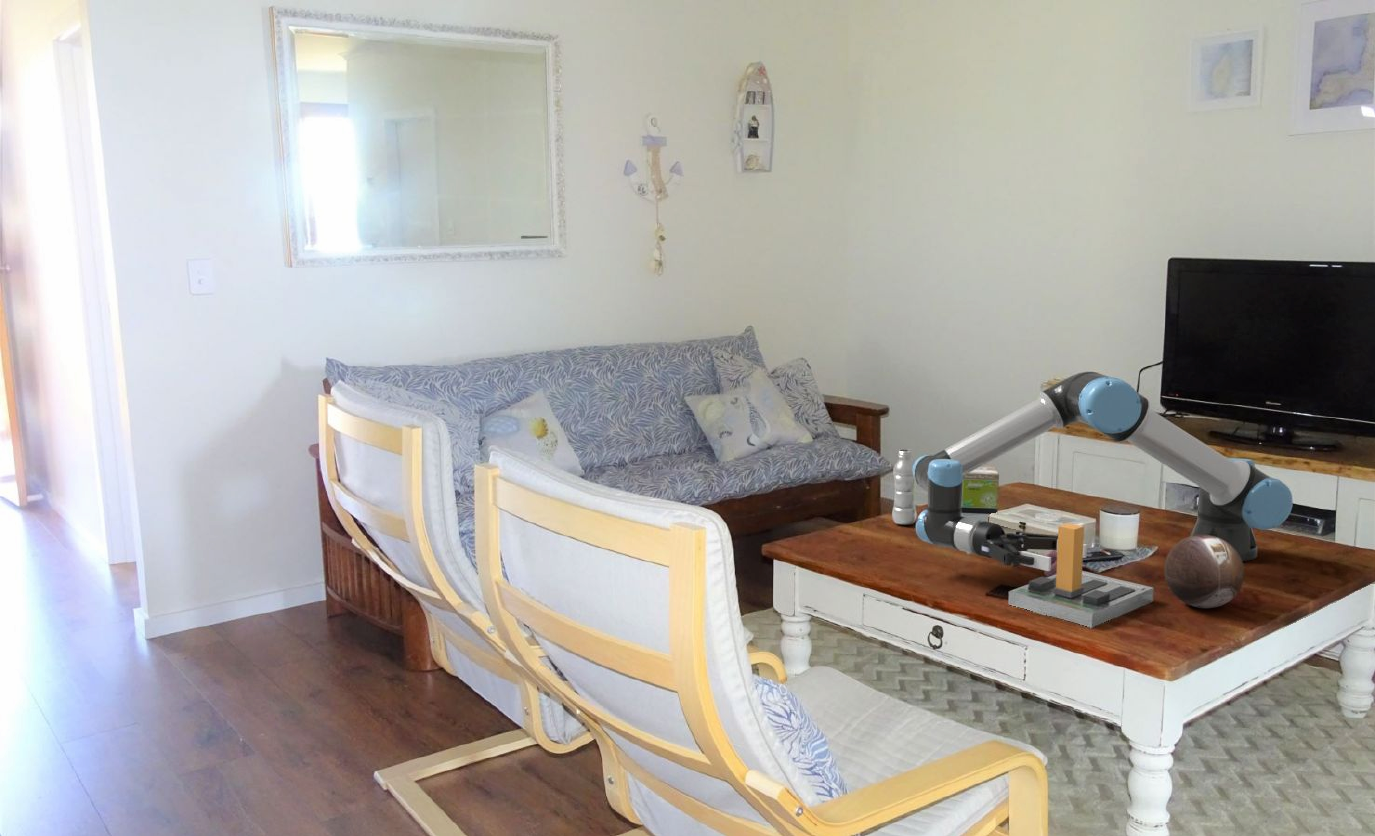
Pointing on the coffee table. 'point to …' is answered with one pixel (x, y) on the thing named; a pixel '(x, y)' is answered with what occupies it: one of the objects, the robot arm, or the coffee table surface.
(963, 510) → the tea box
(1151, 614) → the coffee table surface
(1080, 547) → the handle
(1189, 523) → the coffee table surface
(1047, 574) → the video game controller
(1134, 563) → the coffee table surface
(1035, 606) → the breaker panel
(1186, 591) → the wooden sphere
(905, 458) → the plastic bottle
